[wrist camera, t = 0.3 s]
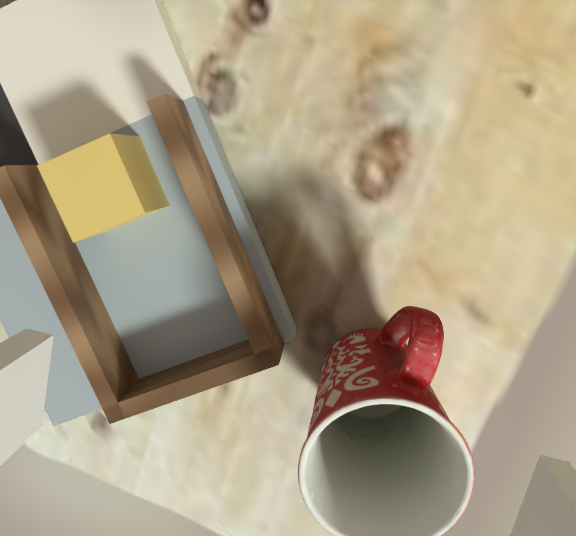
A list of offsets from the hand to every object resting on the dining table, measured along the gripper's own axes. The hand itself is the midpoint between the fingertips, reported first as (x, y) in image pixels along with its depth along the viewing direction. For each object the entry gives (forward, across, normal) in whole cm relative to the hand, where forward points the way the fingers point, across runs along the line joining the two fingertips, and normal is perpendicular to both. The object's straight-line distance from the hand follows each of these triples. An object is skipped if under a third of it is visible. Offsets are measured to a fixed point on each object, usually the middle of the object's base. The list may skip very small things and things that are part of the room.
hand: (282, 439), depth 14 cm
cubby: (+24, -11, -2) cm, 26 cm away
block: (+24, -14, +2) cm, 28 cm away
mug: (+26, +6, -6) cm, 28 cm away
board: (+26, -16, 0) cm, 31 cm away
